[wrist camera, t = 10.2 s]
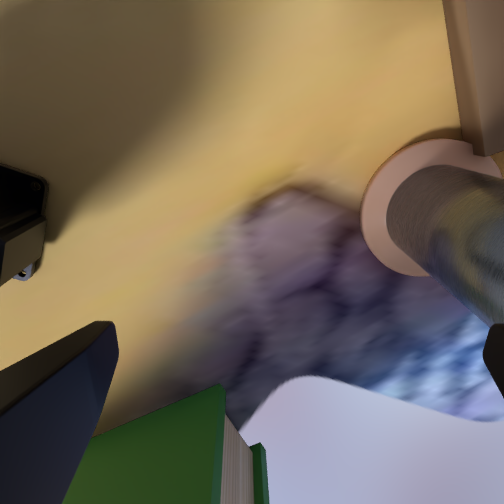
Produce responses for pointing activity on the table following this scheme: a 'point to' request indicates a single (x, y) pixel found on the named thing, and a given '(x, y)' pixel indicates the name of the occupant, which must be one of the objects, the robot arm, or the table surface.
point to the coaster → (393, 176)
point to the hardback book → (173, 459)
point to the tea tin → (454, 233)
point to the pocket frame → (478, 70)
